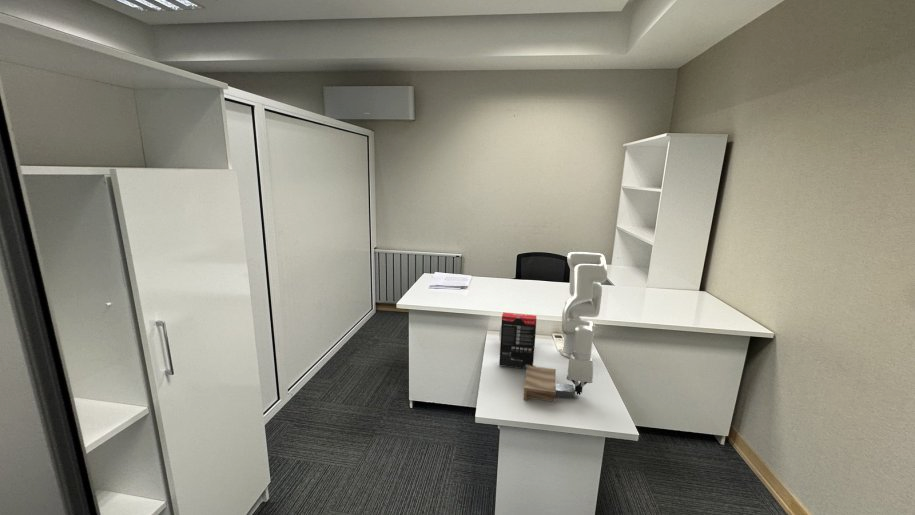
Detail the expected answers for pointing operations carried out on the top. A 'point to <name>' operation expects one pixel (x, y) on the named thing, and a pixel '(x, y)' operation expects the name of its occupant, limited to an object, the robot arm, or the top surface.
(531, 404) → the top surface
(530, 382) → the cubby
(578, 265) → the robot arm
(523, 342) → the graphics card box
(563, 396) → the slab
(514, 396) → the top surface
